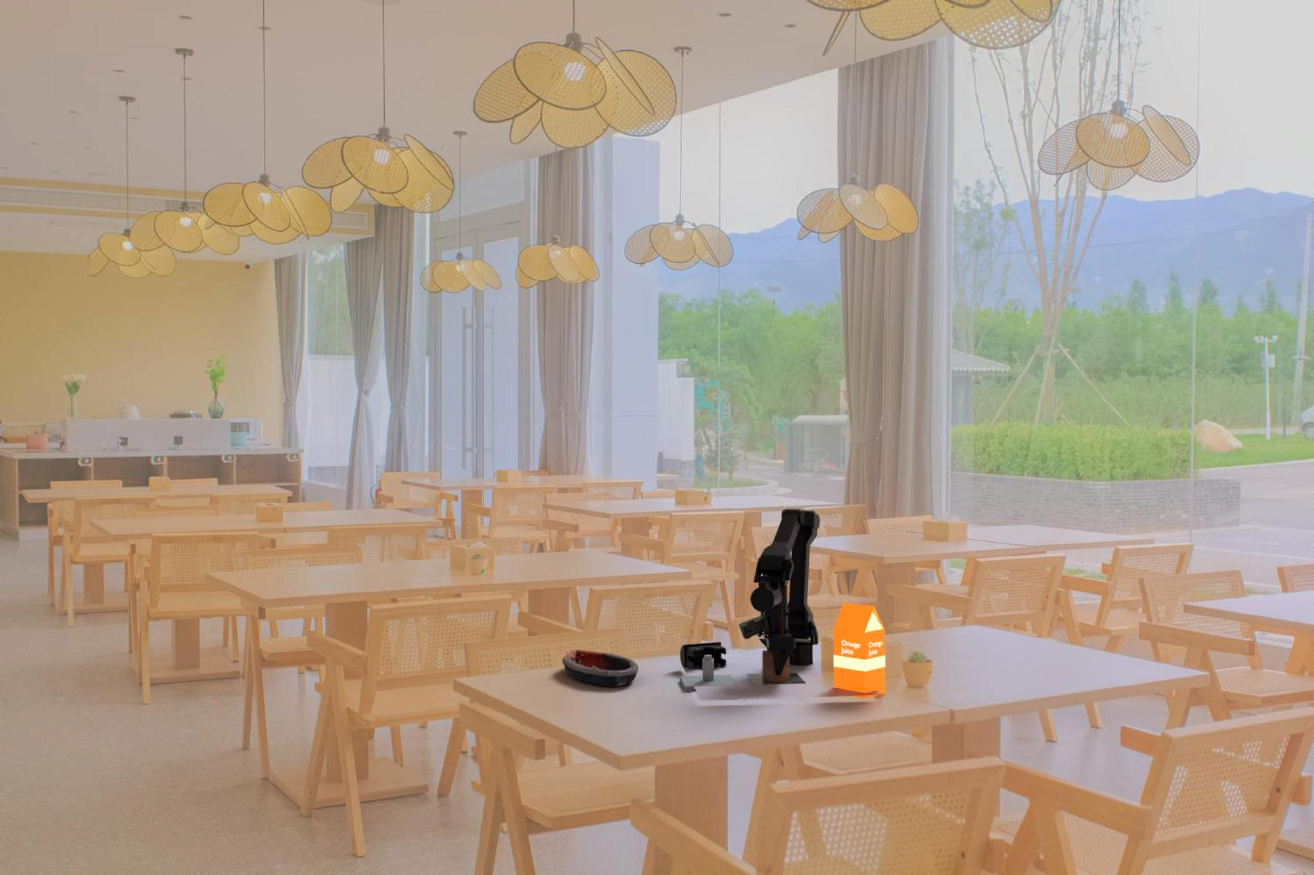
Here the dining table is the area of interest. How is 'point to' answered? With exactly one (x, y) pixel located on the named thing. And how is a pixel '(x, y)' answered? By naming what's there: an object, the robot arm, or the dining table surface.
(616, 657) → the dish
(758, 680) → the stand
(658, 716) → the dining table surface
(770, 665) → the sleeve
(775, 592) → the robot arm
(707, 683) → the grey peg base
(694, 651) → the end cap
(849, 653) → the orange juice
